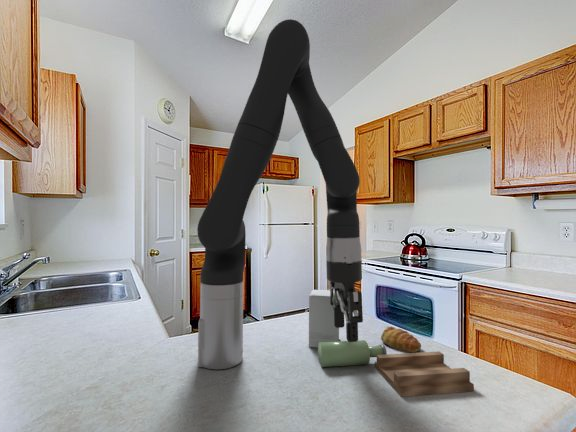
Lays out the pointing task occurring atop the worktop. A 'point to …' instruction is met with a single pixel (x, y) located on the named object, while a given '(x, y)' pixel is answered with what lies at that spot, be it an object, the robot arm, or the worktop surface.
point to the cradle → (422, 374)
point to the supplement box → (321, 318)
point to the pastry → (400, 340)
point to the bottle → (347, 353)
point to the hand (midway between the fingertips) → (345, 333)
